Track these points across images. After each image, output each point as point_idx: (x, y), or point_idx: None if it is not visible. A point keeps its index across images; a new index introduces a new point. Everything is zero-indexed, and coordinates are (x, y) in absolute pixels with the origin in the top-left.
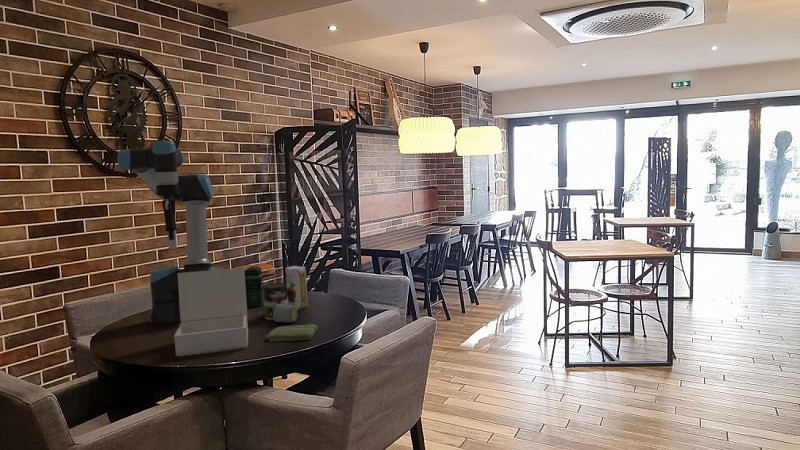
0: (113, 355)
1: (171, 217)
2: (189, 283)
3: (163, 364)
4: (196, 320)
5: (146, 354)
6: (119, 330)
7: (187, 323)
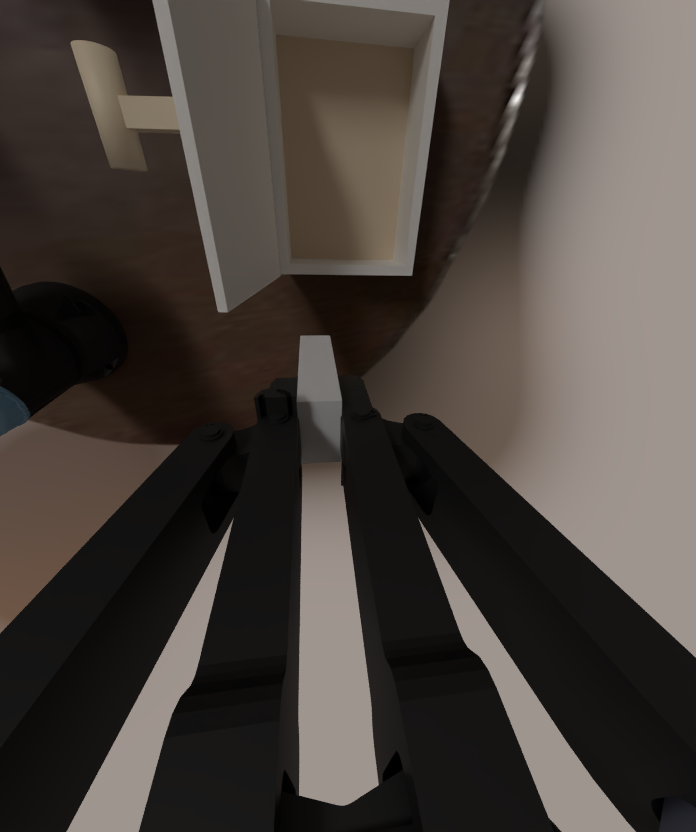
0: None
1: (555, 536)
2: (237, 250)
3: (431, 289)
4: (278, 224)
5: (352, 334)
6: (161, 421)
7: (288, 253)
